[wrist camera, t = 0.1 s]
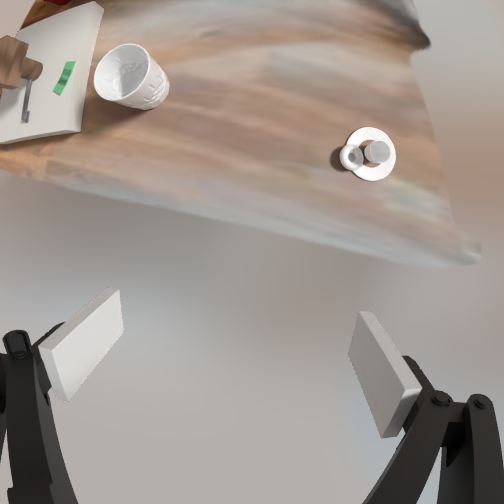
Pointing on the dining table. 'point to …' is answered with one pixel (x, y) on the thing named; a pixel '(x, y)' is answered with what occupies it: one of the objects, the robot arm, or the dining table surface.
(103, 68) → the white cup
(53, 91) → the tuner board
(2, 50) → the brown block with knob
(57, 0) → the plastic cup
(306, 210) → the dining table surface
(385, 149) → the teacup and saucer
